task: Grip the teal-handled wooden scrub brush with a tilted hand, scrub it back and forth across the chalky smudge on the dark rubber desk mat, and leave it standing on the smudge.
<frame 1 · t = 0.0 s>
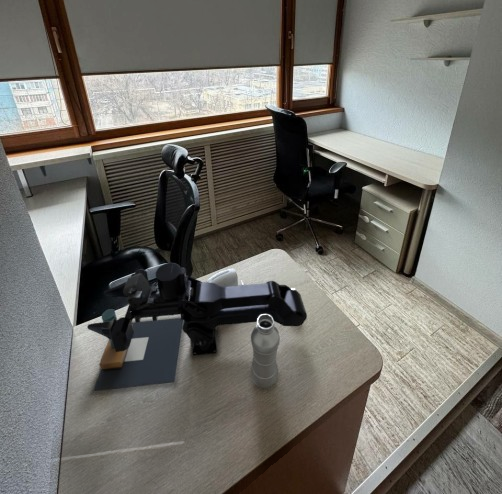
hand: (96, 309, 66), 17 cm above the table, tool horizontal, fingers open, 9 cm apart
scrub brush: (119, 350, 72), resting on desk mat
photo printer: (223, 303, 86), on the table
desk mat: (143, 351, 73), on the table
plastic bottle: (264, 377, 67), on the table
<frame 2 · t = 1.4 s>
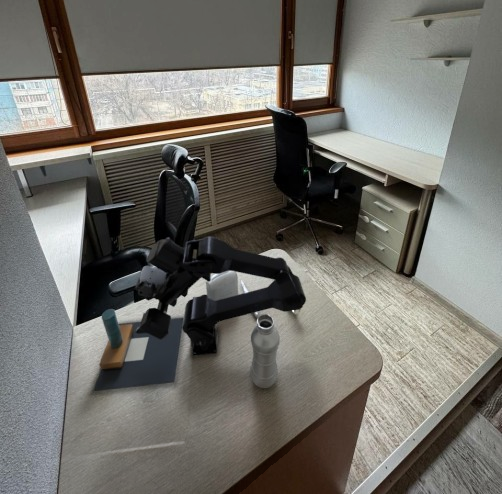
hand: (142, 314, 68), 13 cm above the table, tool tilted 45°, fingers open, 9 cm apart
nothing on the table moved.
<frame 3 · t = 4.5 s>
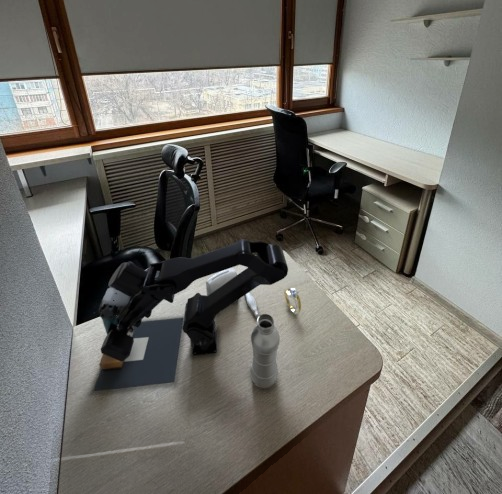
hand: (108, 334, 70), 7 cm above the table, tool tilted 45°, fingers closed on scrub brush, 3 cm apart
scrub brush: (119, 350, 72), resting on desk mat, touching gripper
everything else where it was.
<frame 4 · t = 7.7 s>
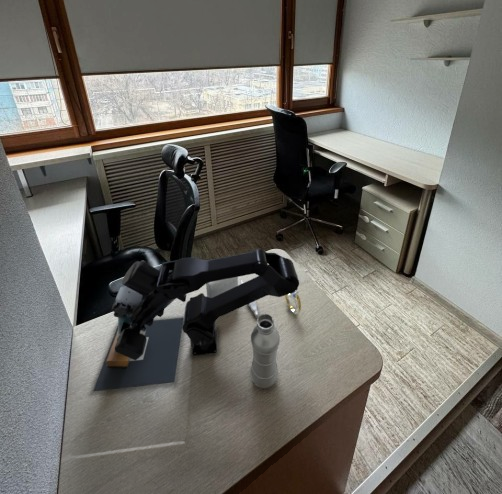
hand: (120, 333, 70), 7 cm above the table, tool tilted 45°, fingers closed on scrub brush, 3 cm apart
scrub brush: (123, 348, 72), point 1 cm above the table, tilted 11°, touching gripper
everything else where it was.
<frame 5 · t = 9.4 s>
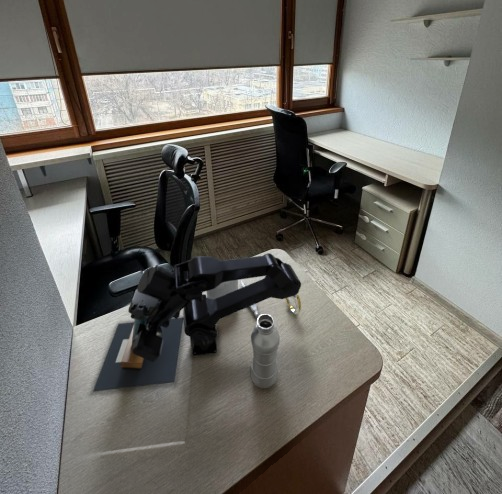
hand: (136, 334, 70), 7 cm above the table, tool tilted 45°, fingers closed on scrub brush, 3 cm apart
scrub brush: (136, 350, 72), point 1 cm above the table, tilted 14°, touching gripper
everything else where it was.
when the fingers open (7 cm above the table, at t = 10.9 s): scrub brush stays where it is, resting on desk mat.
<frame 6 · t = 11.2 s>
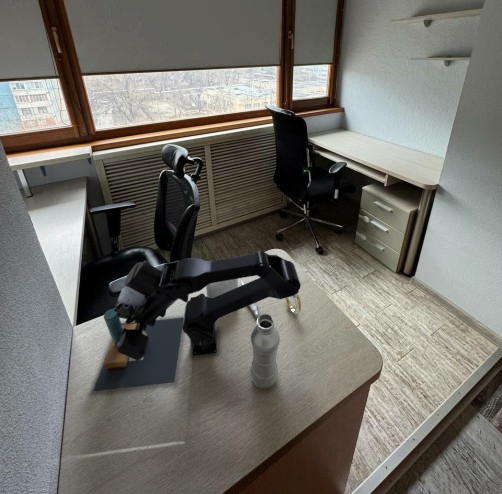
hand: (122, 333, 70), 7 cm above the table, tool tilted 45°, fingers open, 6 cm apart
scrub brush: (123, 350, 72), point 1 cm above the table, touching desk mat
everything else where it was.
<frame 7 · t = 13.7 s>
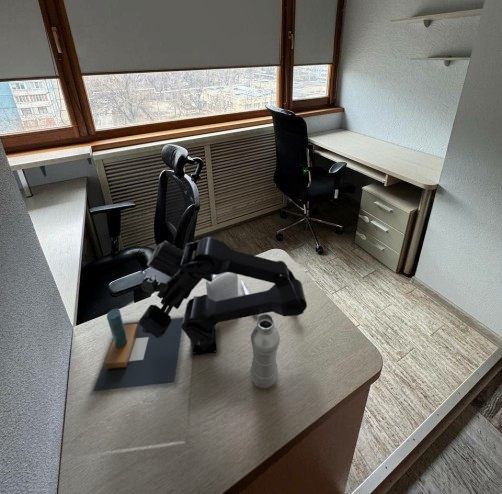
hand: (153, 316, 70), 11 cm above the table, tool tilted 35°, fingers open, 9 cm apart
nothing on the table moved.
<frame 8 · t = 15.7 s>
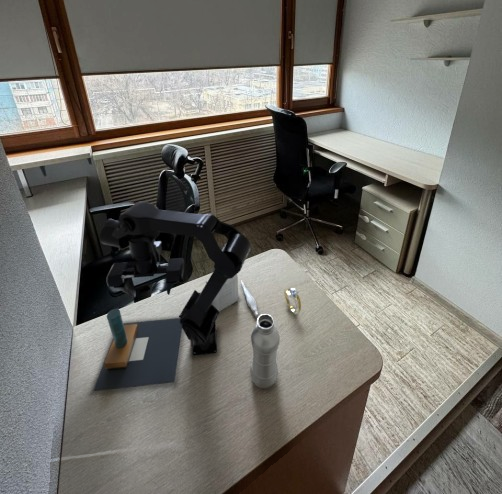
hand: (152, 294, 74), 13 cm above the table, tool pointing down, fingers open, 9 cm apart
nothing on the table moved.
at the end: scrub brush inside the target area (2.3 cm from its centre), resting on desk mat; scrub brush tilted 0°; the gripper is holding nothing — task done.
